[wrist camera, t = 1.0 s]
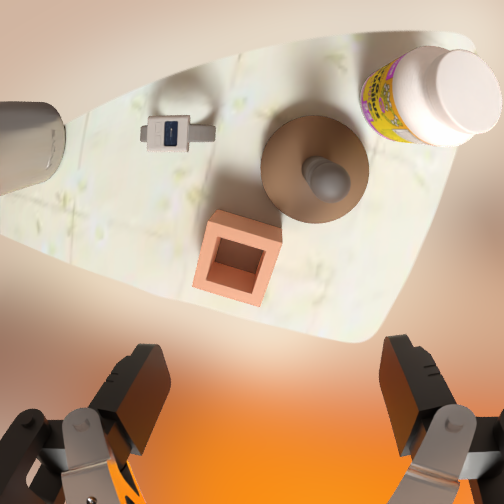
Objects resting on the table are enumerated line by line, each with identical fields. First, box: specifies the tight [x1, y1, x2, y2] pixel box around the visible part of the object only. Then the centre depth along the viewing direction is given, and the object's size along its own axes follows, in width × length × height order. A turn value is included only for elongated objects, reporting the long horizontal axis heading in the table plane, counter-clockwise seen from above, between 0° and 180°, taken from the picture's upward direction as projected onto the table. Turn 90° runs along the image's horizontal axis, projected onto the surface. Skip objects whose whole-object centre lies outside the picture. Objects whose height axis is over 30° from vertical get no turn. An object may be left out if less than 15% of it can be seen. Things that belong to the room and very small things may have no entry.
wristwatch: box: [140, 115, 216, 152], centre depth 23 cm, size 6×3×5 cm, turn 86°
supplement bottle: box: [360, 46, 502, 147], centre depth 17 cm, size 7×7×13 cm
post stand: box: [261, 116, 369, 223], centre depth 21 cm, size 9×9×10 cm
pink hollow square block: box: [192, 209, 282, 307], centre depth 27 cm, size 6×6×4 cm
